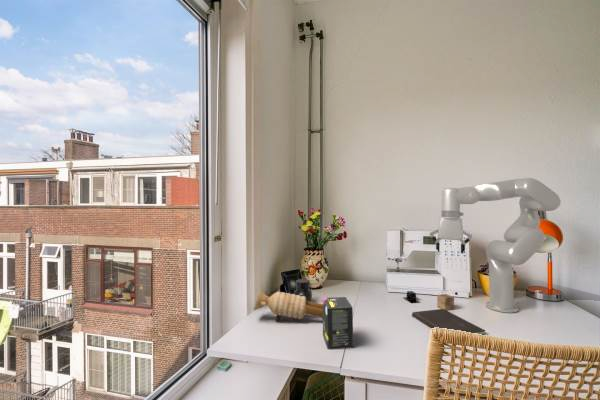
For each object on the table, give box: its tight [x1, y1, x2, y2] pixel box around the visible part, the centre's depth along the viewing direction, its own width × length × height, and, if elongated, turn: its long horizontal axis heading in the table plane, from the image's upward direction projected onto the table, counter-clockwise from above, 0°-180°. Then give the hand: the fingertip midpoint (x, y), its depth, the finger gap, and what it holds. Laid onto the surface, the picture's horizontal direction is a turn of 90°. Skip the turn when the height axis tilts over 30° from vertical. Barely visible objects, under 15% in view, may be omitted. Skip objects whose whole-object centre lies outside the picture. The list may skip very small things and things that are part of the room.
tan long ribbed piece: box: [255, 289, 323, 323], centre depth 127 cm, size 10×12×30 cm
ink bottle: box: [293, 278, 313, 302], centre depth 146 cm, size 10×9×12 cm
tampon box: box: [322, 296, 354, 350], centre depth 108 cm, size 11×9×15 cm
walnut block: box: [436, 293, 455, 312], centre depth 139 cm, size 5×5×6 cm
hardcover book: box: [411, 308, 486, 335], centre depth 121 cm, size 16×23×2 cm
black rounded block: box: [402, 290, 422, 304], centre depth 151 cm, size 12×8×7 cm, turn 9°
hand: (450, 252), depth 135 cm, fingers open, 9 cm apart
